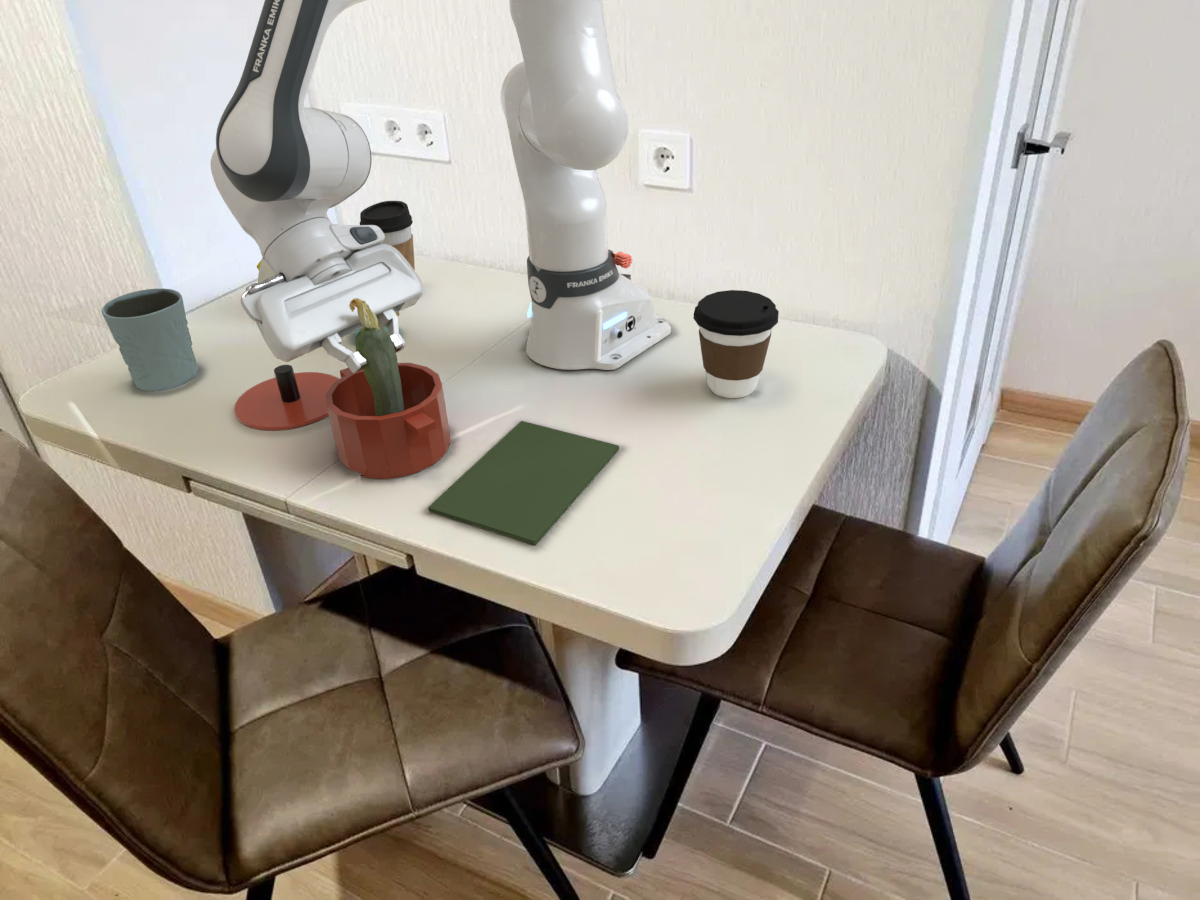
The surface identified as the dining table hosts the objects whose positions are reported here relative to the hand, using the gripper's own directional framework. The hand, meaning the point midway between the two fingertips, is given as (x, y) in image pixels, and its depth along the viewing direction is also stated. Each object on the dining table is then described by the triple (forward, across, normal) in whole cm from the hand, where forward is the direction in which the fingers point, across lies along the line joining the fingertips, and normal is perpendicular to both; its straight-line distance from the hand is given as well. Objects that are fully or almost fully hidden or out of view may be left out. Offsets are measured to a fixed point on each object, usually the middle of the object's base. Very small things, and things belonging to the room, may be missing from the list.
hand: (381, 359), depth 102 cm
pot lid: (-6, -2, +23) cm, 24 cm away
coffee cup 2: (+27, +37, -9) cm, 47 cm away
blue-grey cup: (-20, -8, +38) cm, 44 cm away
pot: (+8, 0, +9) cm, 13 cm away
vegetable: (+8, 0, +9) cm, 13 cm away
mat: (+21, +5, -3) cm, 22 cm away
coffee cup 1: (-17, +31, +35) cm, 50 cm away
